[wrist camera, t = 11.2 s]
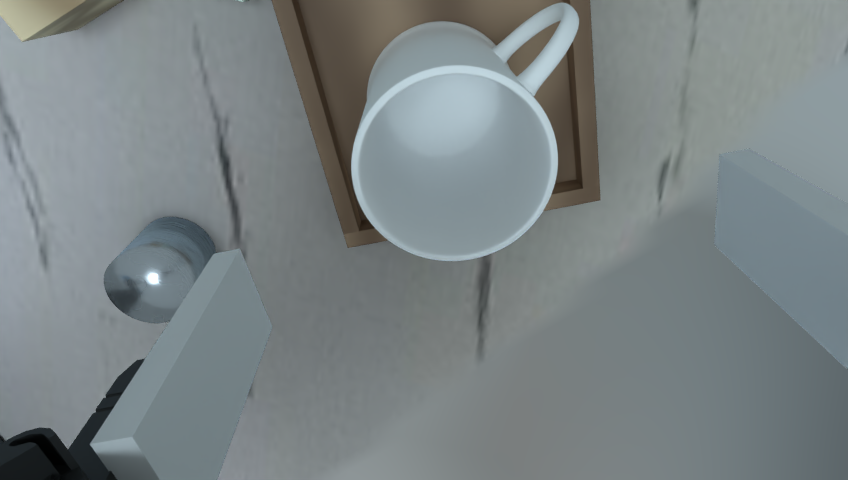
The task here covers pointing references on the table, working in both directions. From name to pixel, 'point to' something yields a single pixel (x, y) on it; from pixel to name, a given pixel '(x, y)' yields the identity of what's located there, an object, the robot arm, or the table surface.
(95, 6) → the oak block
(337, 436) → the table surface
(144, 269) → the grey tin
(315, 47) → the tray
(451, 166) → the mug
